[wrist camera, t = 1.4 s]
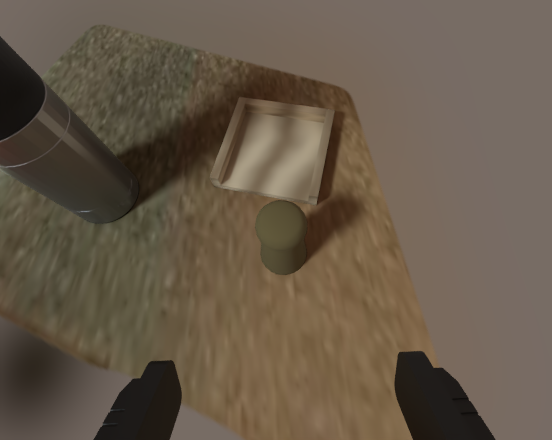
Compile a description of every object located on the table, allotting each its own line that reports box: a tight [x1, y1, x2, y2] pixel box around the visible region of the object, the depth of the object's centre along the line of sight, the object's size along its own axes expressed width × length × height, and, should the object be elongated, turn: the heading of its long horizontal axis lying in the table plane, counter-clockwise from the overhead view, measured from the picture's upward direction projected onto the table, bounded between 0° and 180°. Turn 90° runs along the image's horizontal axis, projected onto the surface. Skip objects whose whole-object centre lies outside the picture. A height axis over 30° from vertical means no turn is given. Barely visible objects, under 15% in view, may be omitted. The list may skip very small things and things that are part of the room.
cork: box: [255, 200, 307, 275], centre depth 32 cm, size 6×6×11 cm
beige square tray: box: [210, 97, 335, 205], centre depth 42 cm, size 15×15×2 cm
